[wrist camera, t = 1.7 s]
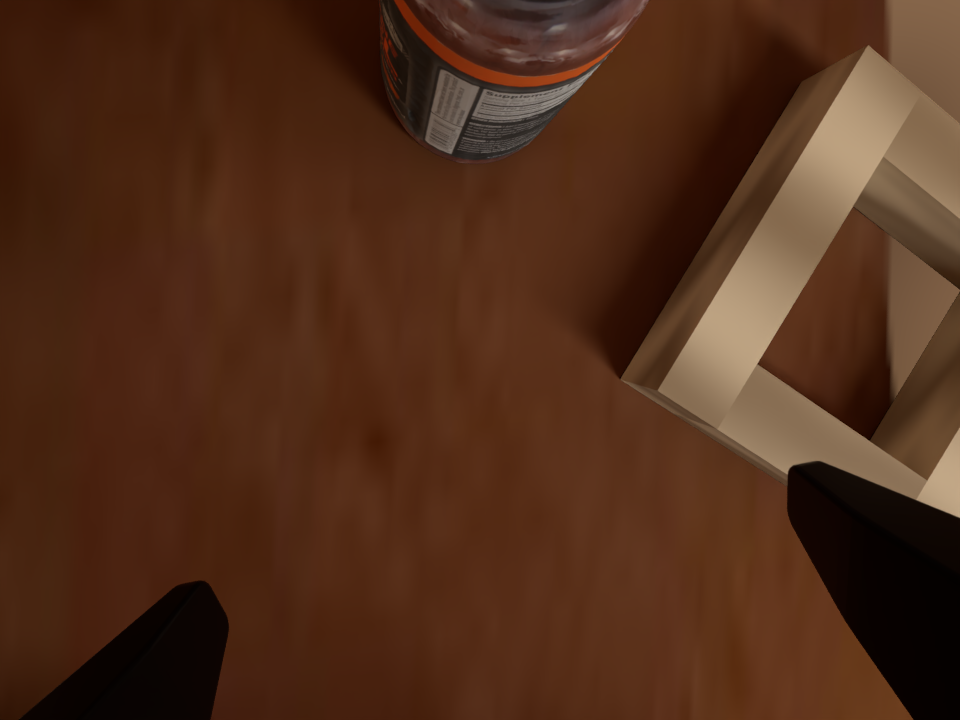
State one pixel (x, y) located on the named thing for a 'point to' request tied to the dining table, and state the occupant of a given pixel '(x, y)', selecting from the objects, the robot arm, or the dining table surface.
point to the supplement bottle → (491, 67)
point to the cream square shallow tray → (789, 264)
